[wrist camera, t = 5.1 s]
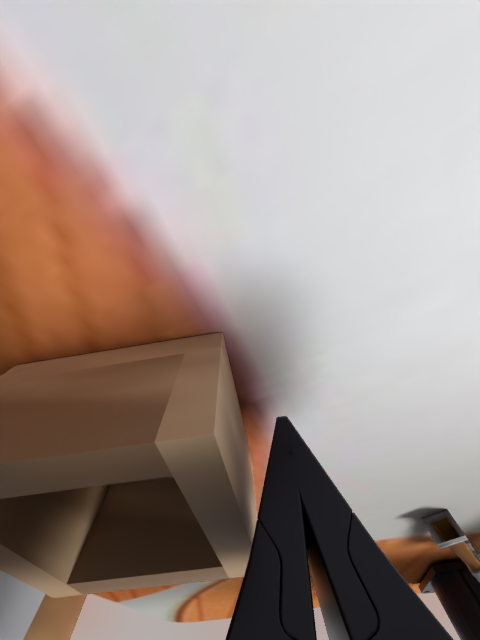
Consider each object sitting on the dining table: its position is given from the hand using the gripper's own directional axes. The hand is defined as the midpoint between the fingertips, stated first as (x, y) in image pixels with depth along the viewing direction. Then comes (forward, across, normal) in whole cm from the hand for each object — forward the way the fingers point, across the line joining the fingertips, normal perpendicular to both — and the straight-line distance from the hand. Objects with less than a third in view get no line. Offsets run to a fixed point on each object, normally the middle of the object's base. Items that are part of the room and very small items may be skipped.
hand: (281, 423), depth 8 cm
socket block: (+1, +6, 0) cm, 6 cm away
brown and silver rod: (+2, -12, +16) cm, 20 cm away
